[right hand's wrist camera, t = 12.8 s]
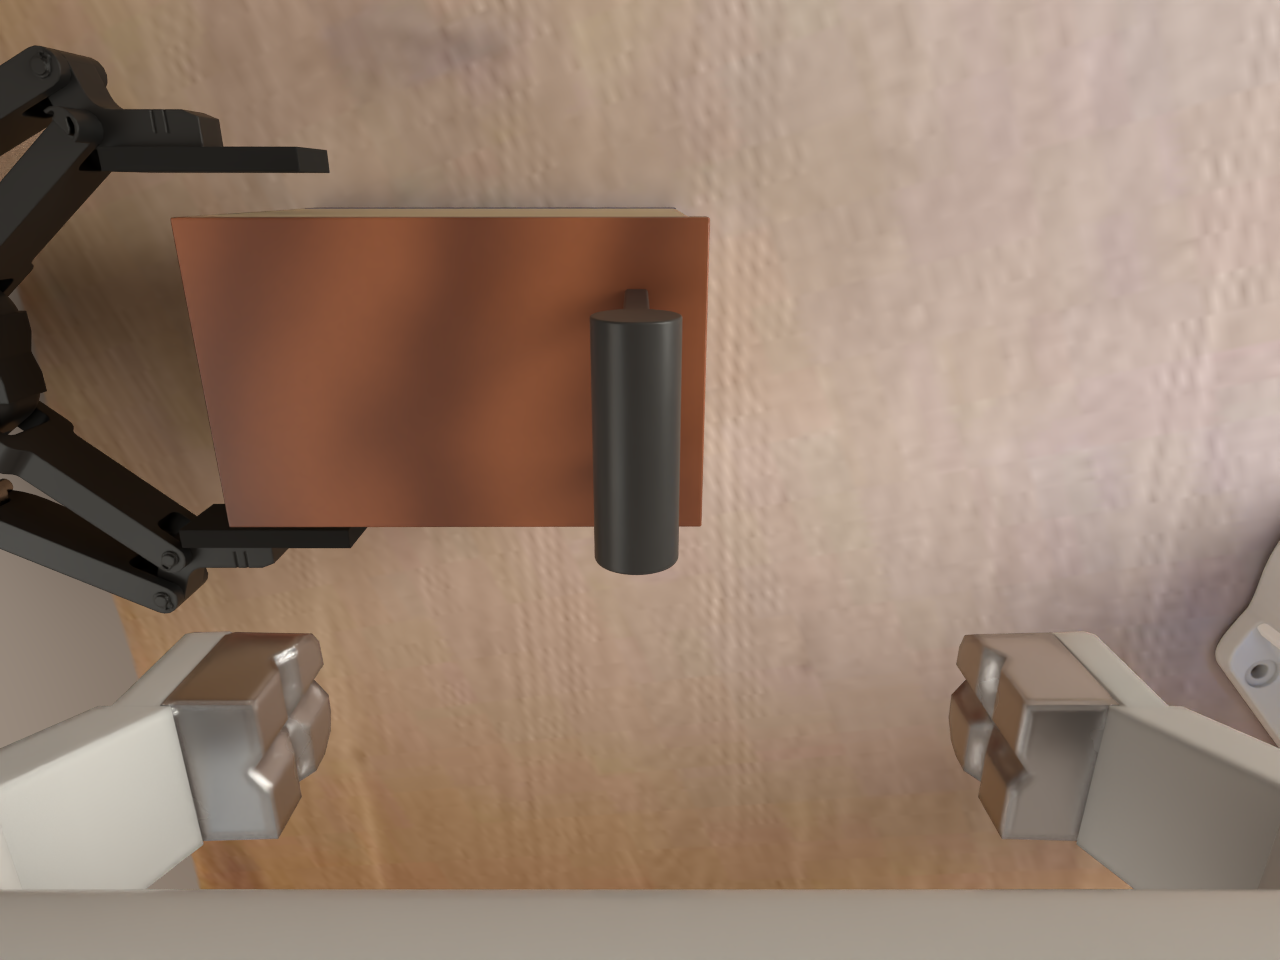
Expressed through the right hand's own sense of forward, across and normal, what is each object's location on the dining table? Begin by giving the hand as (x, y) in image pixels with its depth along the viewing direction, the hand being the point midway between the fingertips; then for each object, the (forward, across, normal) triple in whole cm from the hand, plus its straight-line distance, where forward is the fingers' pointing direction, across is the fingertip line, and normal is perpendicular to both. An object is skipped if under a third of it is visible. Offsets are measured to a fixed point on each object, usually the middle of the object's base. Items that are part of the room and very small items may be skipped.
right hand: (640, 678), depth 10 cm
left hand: (+21, +11, 0) cm, 24 cm away
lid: (+17, +6, 0) cm, 18 cm away
